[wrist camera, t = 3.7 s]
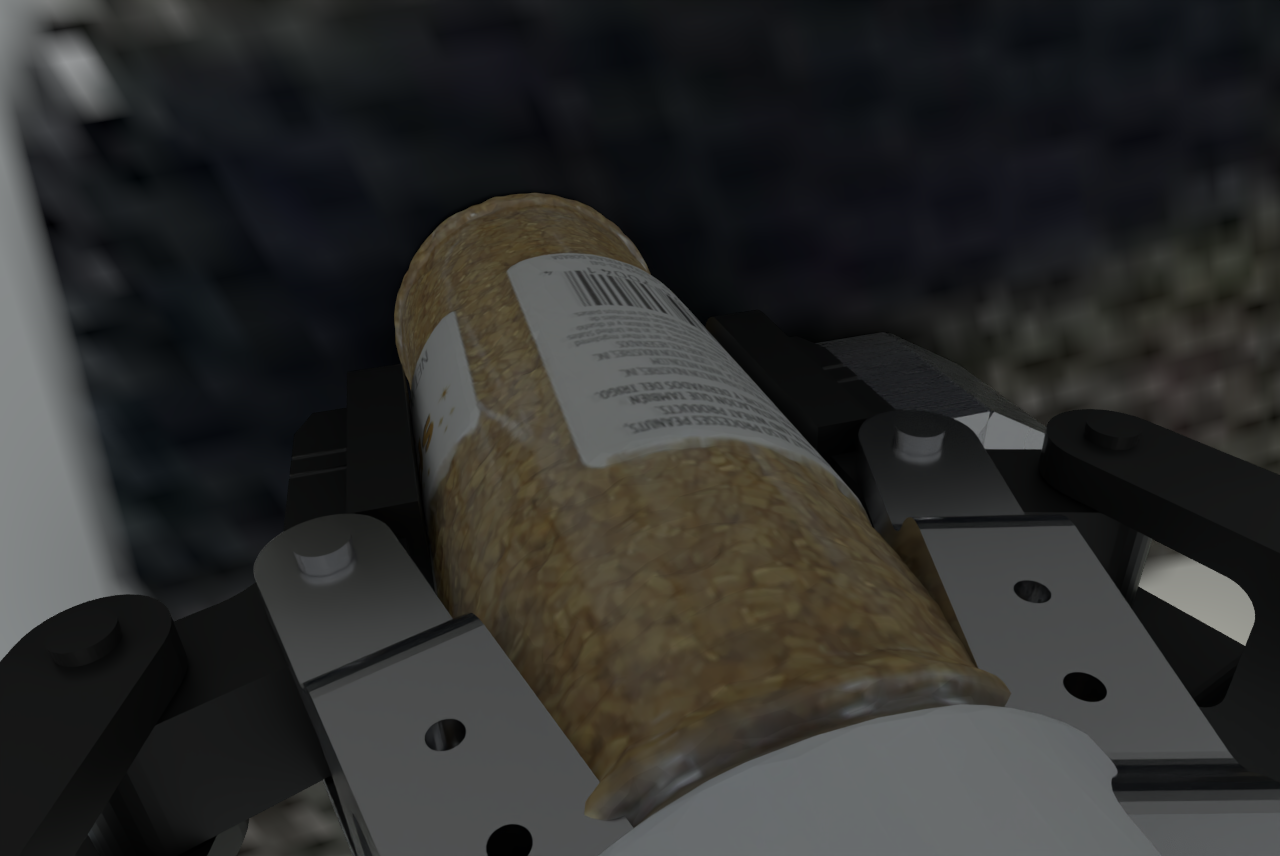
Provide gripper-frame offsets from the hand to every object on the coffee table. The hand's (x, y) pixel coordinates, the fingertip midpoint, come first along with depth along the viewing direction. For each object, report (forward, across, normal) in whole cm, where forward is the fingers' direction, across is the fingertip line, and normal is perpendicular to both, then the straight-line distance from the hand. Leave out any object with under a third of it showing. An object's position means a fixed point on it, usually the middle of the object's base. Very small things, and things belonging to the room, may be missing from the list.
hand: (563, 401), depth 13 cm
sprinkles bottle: (+3, 0, 0) cm, 3 cm away
